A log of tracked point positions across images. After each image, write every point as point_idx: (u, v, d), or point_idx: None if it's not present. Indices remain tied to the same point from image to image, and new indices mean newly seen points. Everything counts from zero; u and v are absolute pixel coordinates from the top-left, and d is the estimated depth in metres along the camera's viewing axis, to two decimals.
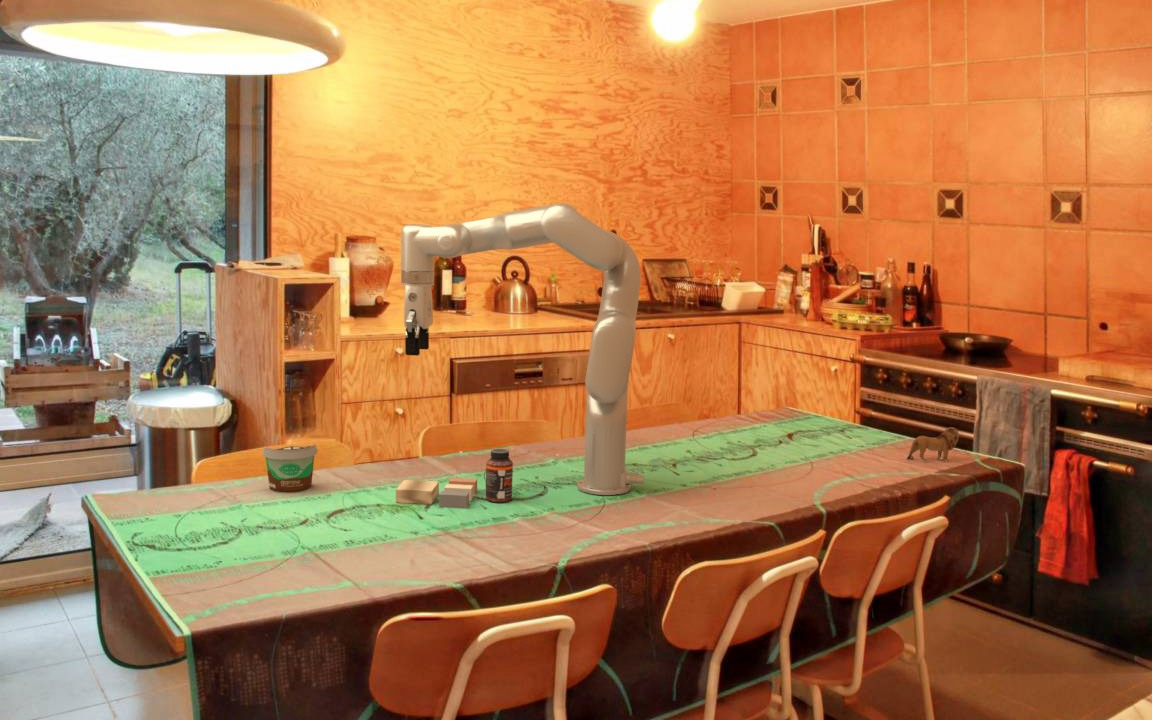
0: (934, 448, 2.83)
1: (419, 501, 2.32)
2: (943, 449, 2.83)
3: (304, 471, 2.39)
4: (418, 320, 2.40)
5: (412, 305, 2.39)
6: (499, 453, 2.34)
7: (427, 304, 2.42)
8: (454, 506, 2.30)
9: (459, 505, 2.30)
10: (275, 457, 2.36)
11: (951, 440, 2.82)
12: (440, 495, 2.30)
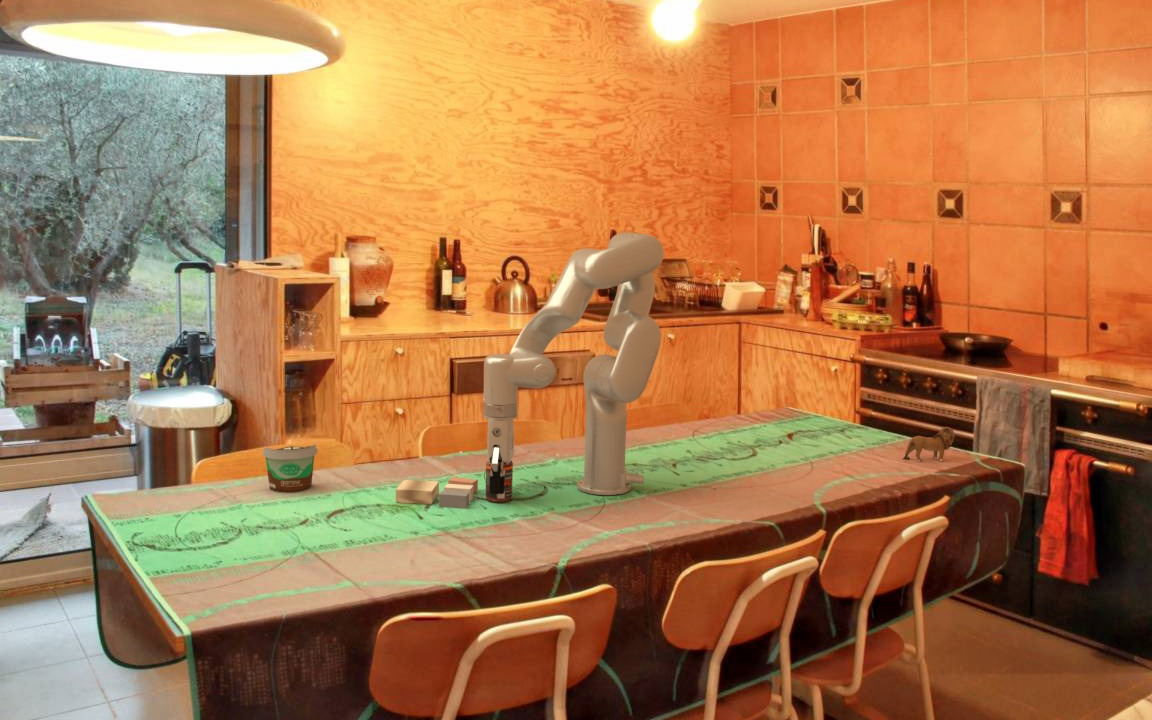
0: (930, 448, 2.83)
1: (419, 501, 2.32)
2: (939, 449, 2.83)
3: (304, 471, 2.39)
4: (502, 456, 2.30)
5: (496, 440, 2.30)
6: None
7: (511, 438, 2.33)
8: (454, 506, 2.30)
9: (458, 505, 2.30)
10: (275, 457, 2.36)
11: (947, 440, 2.83)
12: (440, 495, 2.30)
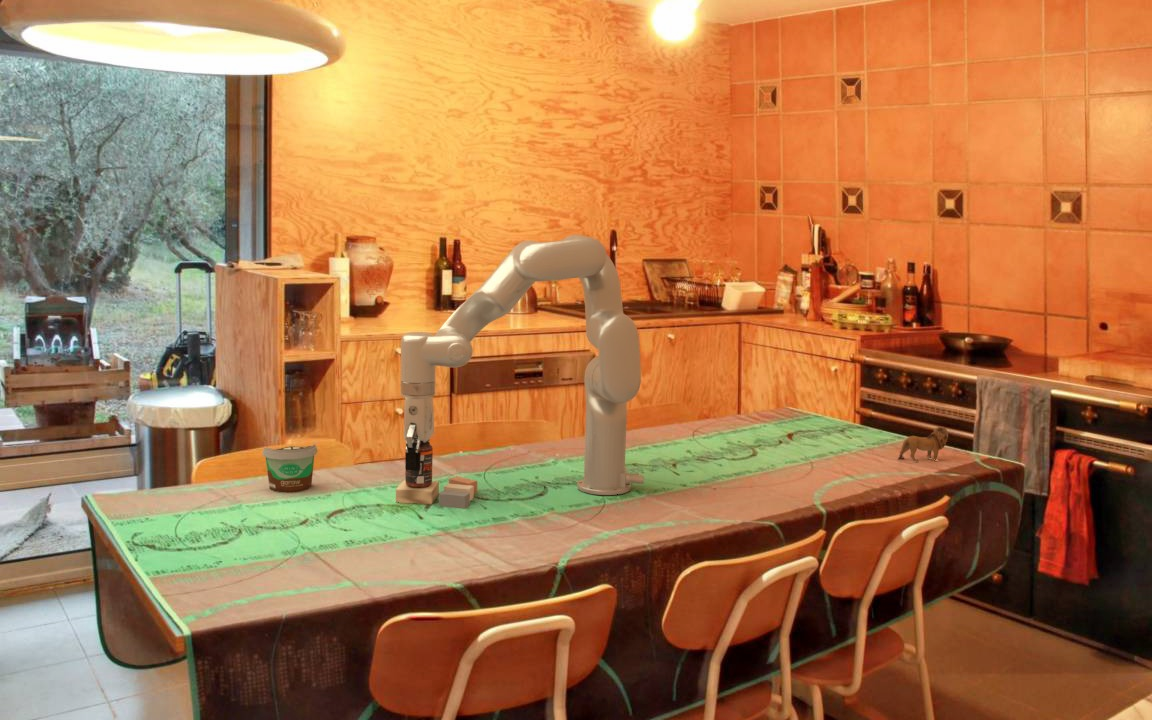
0: (924, 448, 2.83)
1: (419, 501, 2.32)
2: (933, 449, 2.83)
3: (304, 471, 2.39)
4: (419, 434, 2.29)
5: (413, 418, 2.28)
6: None
7: (428, 416, 2.31)
8: (453, 506, 2.30)
9: (457, 505, 2.30)
10: (275, 457, 2.36)
11: (941, 440, 2.83)
12: (439, 494, 2.31)
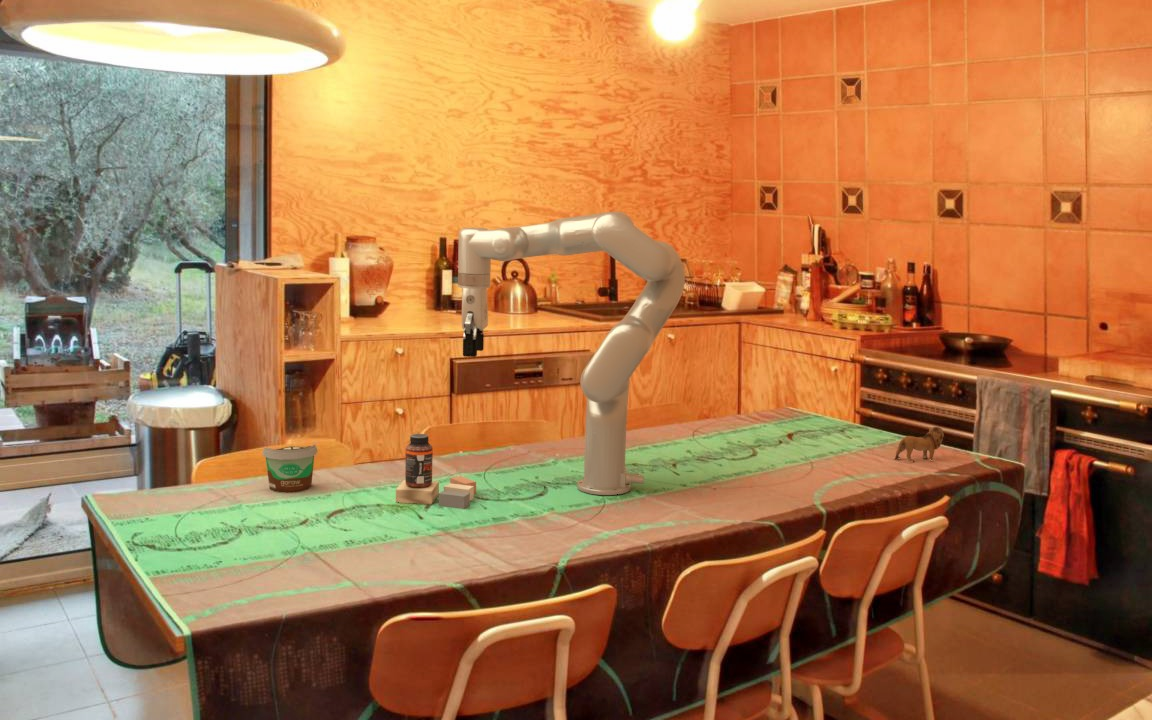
0: (921, 448, 2.83)
1: (419, 501, 2.32)
2: (929, 449, 2.83)
3: (304, 471, 2.39)
4: (476, 322, 2.43)
5: (470, 307, 2.43)
6: (418, 438, 2.33)
7: (484, 306, 2.46)
8: (452, 506, 2.30)
9: (457, 505, 2.30)
10: (275, 457, 2.36)
11: (937, 439, 2.83)
12: (439, 494, 2.31)
